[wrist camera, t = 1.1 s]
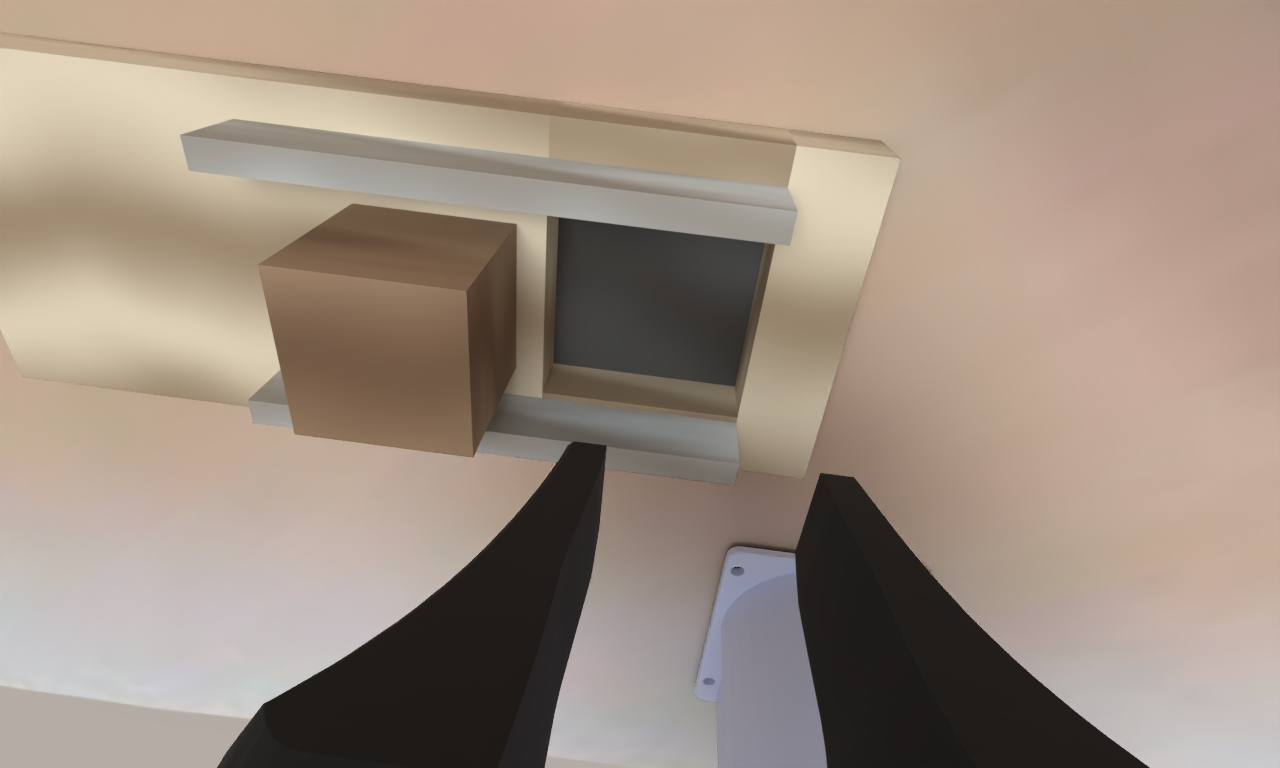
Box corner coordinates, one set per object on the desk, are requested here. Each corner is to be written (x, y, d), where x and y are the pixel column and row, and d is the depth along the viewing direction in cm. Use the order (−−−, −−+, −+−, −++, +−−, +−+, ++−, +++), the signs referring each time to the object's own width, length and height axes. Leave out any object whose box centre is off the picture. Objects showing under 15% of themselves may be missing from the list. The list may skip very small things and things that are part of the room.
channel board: (796, 441, 23) (813, 522, 19) (72, 348, 23) (-36, 411, 20) (881, 140, 18) (924, 180, 14) (-59, 25, 18) (-237, 37, 14)
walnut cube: (516, 366, 20) (473, 457, 16) (371, 348, 20) (294, 434, 16) (516, 223, 17) (466, 291, 14) (352, 203, 18) (257, 264, 14)
